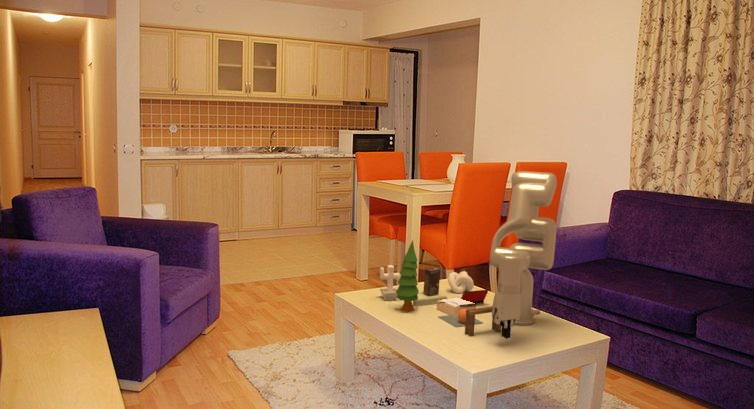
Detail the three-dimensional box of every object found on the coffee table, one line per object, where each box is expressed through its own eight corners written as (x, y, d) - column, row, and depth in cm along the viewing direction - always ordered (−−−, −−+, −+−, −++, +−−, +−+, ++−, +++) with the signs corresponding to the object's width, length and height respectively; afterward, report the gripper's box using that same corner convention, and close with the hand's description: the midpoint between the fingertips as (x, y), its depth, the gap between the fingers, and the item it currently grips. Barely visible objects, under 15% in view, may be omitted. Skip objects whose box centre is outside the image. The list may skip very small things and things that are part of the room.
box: (429, 296, 273) (430, 270, 271) (423, 294, 276) (424, 268, 275) (439, 295, 276) (440, 269, 274) (433, 292, 280) (434, 267, 278)
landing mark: (464, 313, 250) (464, 313, 250) (483, 323, 239) (483, 322, 239) (437, 317, 244) (437, 316, 244) (455, 327, 233) (455, 326, 233)
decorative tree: (422, 310, 252) (425, 240, 248) (407, 315, 245) (410, 242, 241) (405, 305, 259) (408, 236, 255) (390, 309, 252) (392, 239, 248)
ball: (473, 308, 238) (475, 322, 237) (465, 308, 243) (466, 322, 241) (462, 308, 235) (464, 323, 234) (454, 309, 240) (455, 323, 239)
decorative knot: (457, 296, 275) (458, 277, 274) (440, 289, 285) (441, 271, 283) (476, 293, 281) (477, 274, 280) (459, 286, 291) (460, 268, 290)
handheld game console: (474, 299, 272) (475, 283, 271) (488, 306, 262) (489, 289, 261) (450, 301, 267) (451, 285, 266) (463, 308, 258) (464, 291, 256)
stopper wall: (444, 301, 266) (444, 295, 266) (446, 302, 265) (447, 297, 264) (412, 305, 259) (413, 299, 259) (415, 306, 258) (415, 300, 257)
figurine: (402, 300, 265) (403, 267, 263) (381, 301, 263) (382, 268, 261) (397, 295, 272) (398, 263, 270) (377, 296, 270) (378, 264, 268)
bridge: (464, 333, 226) (466, 309, 225) (496, 328, 233) (497, 305, 232) (469, 336, 224) (470, 312, 223) (500, 331, 230) (502, 307, 229)
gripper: (518, 282, 221) (515, 330, 224) (485, 287, 214) (482, 336, 217) (532, 288, 214) (528, 337, 217) (498, 293, 208) (495, 344, 211)
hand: (505, 337), depth 217 cm, fingers closed
